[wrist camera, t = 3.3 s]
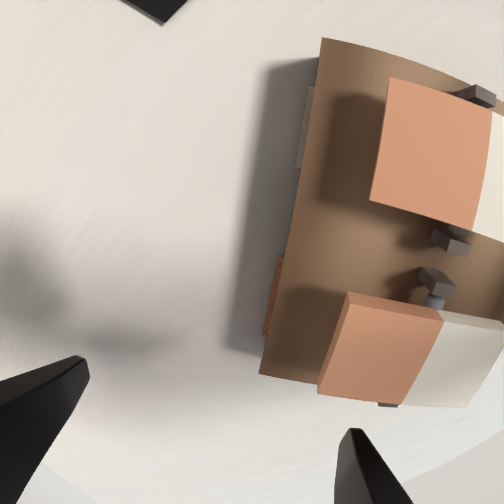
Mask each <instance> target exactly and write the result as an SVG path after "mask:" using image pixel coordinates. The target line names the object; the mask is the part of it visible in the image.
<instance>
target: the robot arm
mask: <svg viewBox="0 0 504 504" xmlns="http://www.w3.org/2000/svg"><path fill="white" fill-rule="evenodd" d="M89 379H90V374H89V369H88V365H87V361H86V359H84V358H82V357H80V356H78V355H74V356H71V357H69V358H66V359H63V360H60V361H57V362H55V363H52V364H49V365H46V366H43V367H40V368H37V369H35V370H32V371H29V372H26V373H23V374H20V375H17V376H14V377H11V378H8V379H5V380H2V381H0V504H16V502H17V501H18V499H19V497H20V496H21V494H22V492H23V491H24V488H25V487H26V485H27V483H28V482H29V480H30V479H31V477H32V475H33V473H34V472H35V470H36V469H37V467H38V465H39V464H40V462H41V461H42V459H43V457H44V456H45V454H46V453H47V451H48V449H49V448H50V446H51V445H52V443H53V442H54V440H55V438H56V437H57V435H58V434H59V432H60V431H61V429H62V428H63V426H64V425H65V423H66V422H67V420H68V419H69V417H70V416H71V414H72V412H73V411H74V409H75V407H76V405H77V403H78V401H79V399H80V397H81V395H82V393H83V391H84V389H85V388H86V386H87V384H88V382H89ZM334 504H414V503H412V500H411V499H410V497H409V496H408V495H407V493H406V492H405V490H404V489H403V487H402V486H401V484H400V483H399V482H398V480H397V479H396V477H395V476H394V474H393V473H392V472H391V470H390V469H389V467H388V466H387V464H386V463H385V461H384V460H383V459H382V457H381V456H380V454H379V453H378V451H377V450H376V448H375V447H374V446H373V444H372V443H371V441H370V440H369V438H368V437H367V435H366V434H365V432H364V431H363V430H362V429H360V428H349V429H348V431H347V432H346V434H345V436H344V437H343V439H342V440H341V442H340V445H339V451H338V460H337V469H336V477H335V486H334Z"/></svg>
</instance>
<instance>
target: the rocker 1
mask: <svg viewBox="0 0 504 504" xmlns="http://www.w3.org/2000/svg"><path fill="white" fill-rule="evenodd" d="M369 200H371V201H374V202H378V203H382V204H386V205H389V206H393V207H396V208H400V209H403V210H407V211H410V212H414V213H417V214H420V215H424V216H427V217H430V218H433V219H437V220H440V221H443V222H446V223H449V224H450V225H449V230H450V231H453V232H455V233H457V234H460V235H463V236H468V233H469V230H470V231H473V232H476V233H479V234H481V235H484V236H487V237H490V238H493V239H495V240H498V241H501V242H503V243H504V116H502V115H499V114H497V113H495V112H493V111H490V110H488V109H487V108H485V107H483V106H479V105H476V104H474V103H471V102H469V101H466V100H463V99H461V98H458V97H455V96H452V95H450V94H447V93H444V92H441V91H438V90H435V89H432V88H428V87H425V86H422V85H418V84H415V83H411V82H408V81H404V80H400V79H396V78H392V77H390V78H389V81H388V85H387V93H386V101H385V109H384V116H383V122H382V129H381V135H380V141H379V147H378V153H377V158H376V164H375V169H374V174H373V179H372V184H371V189H370V193H369Z"/></svg>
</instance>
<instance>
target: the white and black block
mask: <svg viewBox="0 0 504 504" xmlns="http://www.w3.org/2000/svg"><path fill="white" fill-rule="evenodd" d="M127 1H129V2H131V3H133V4H134V5H136V6H138V7H140V8H141V9H143V10H145V11H147V12H148V13H150V14H152V15H153V16H155V17H157V18H158V19H160V20H161V21H163V22H166V21H167V20H168V19H169V18H170V17H171V16H172V15H173V14H174V13H175V12H176V11H177V10H178V9H179V8H180V7H181V6H182V5H183V4H184V3H185V2H186V1H187V0H127Z"/></svg>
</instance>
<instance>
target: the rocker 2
mask: <svg viewBox="0 0 504 504" xmlns="http://www.w3.org/2000/svg"><path fill="white" fill-rule="evenodd" d="M444 303H445V299H444V298H443V297H441V296H438V295H433V294H431V293H428V294H427V296H426V299H425V301H424V304H423V306H419V305H413V304H408V303H404V302H399V301H394V300H389V299H384V298H379V297H374V296H369V295H364V294H360V293H355V292H350V291H348V292H347V295H346V298H345V302H344V305H343V308H342V311H341V314H340V317H339V320H338V323H337V326H336V329H335V332H334V335H333V338H332V341H331V344H330V346H329V349H328V352H327V355H326V357H325V360H324V363H323V366H322V368H321V371H320V373H319V376H318V385H317V393H318V394H323V395H329V396H335V397H342V398H349V399H356V400H363V401H371V402H380V403H389V404H400V405H413V406H429V407H458V408H466V407H467V405H468V404H469V402H470V401H471V399H472V398H473V396H474V395H475V393H476V392H477V390H478V389H479V387H480V386H481V384H482V383H483V381H484V379H485V378H486V376H487V375H488V373H489V371H490V370H491V368H492V366H493V364H494V363H495V361H496V359H497V357H498V356H499V354H500V352H501V350H502V348H503V346H504V325H503V323H502V322H501V321H497V320H492V319H486V318H481V317H475V316H470V315H465V314H460V313H454V312H449V311H444V310H442V308H443V306H444Z"/></svg>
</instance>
